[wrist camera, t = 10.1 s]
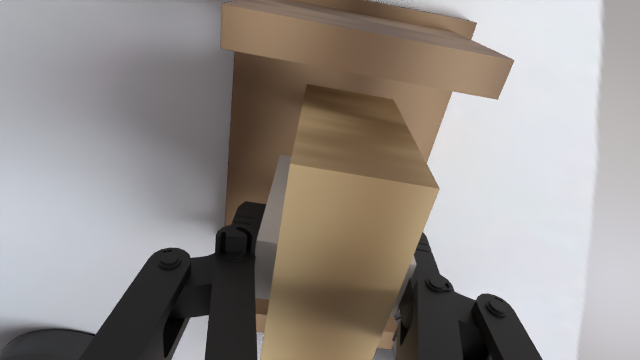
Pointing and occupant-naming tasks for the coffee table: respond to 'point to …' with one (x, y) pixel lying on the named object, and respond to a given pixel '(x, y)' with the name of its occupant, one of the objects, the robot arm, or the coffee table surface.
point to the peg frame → (340, 79)
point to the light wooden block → (345, 227)
